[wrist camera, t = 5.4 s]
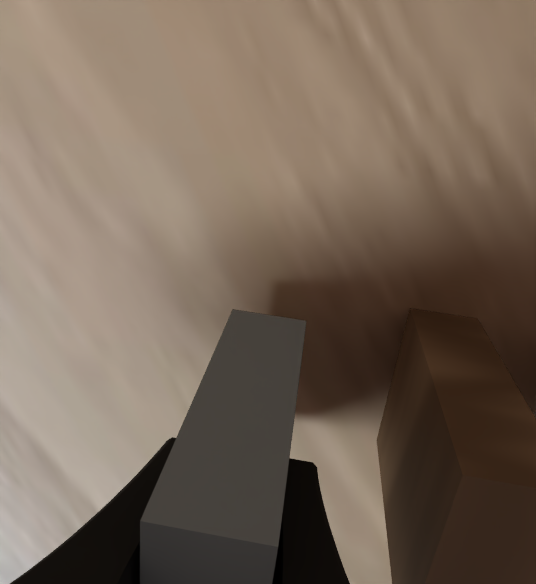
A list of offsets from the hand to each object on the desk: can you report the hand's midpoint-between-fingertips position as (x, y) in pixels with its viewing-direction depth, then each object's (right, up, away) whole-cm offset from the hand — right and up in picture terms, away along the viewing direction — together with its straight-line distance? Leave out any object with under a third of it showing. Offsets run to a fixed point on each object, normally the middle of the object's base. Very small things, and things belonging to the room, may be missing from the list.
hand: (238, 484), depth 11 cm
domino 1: (0, +1, +3) cm, 4 cm away
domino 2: (+6, +1, +5) cm, 8 cm away
